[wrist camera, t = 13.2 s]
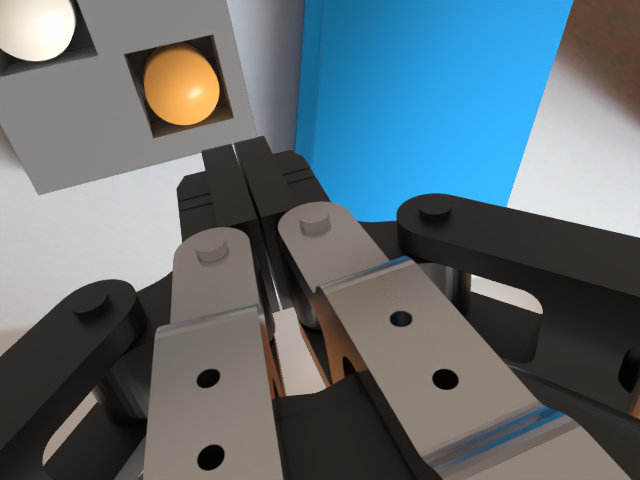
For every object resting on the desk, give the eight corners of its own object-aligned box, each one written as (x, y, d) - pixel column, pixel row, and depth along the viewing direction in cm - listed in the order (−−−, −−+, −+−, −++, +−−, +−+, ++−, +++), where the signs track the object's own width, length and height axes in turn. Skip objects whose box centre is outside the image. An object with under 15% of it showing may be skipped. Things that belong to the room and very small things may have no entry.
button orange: (203, 35, 29) (208, 45, 27) (220, 101, 32) (226, 115, 30) (132, 50, 28) (133, 62, 26) (156, 117, 31) (158, 132, 29)
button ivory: (57, -43, 25) (51, -38, 23) (89, 40, 28) (86, 51, 26) (-29, -27, 24) (-42, -21, 22) (12, 56, 27) (3, 69, 25)
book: (632, -183, 27) (507, 222, 40) (575, -172, 31) (477, 197, 44) (332, -241, 22) (300, 245, 35) (303, -221, 25) (284, 215, 38)
